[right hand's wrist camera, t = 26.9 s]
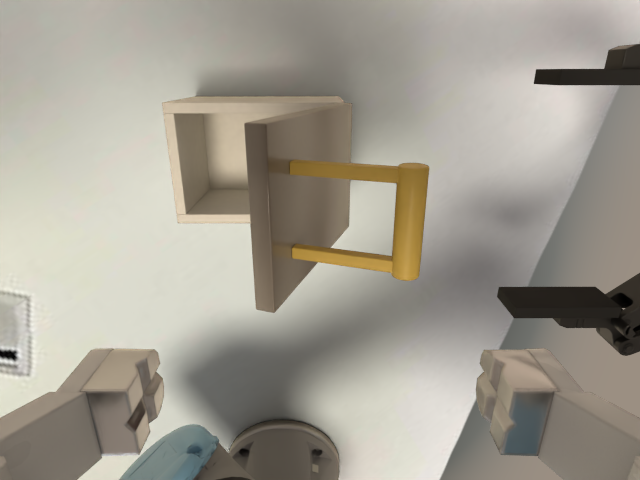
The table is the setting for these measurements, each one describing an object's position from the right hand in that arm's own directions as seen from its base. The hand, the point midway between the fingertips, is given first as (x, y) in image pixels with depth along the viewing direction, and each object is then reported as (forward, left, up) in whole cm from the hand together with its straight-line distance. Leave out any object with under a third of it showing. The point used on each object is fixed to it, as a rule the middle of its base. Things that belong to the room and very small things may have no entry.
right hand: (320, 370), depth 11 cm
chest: (-2, -5, -35) cm, 35 cm away
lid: (0, -1, -18) cm, 18 cm away
